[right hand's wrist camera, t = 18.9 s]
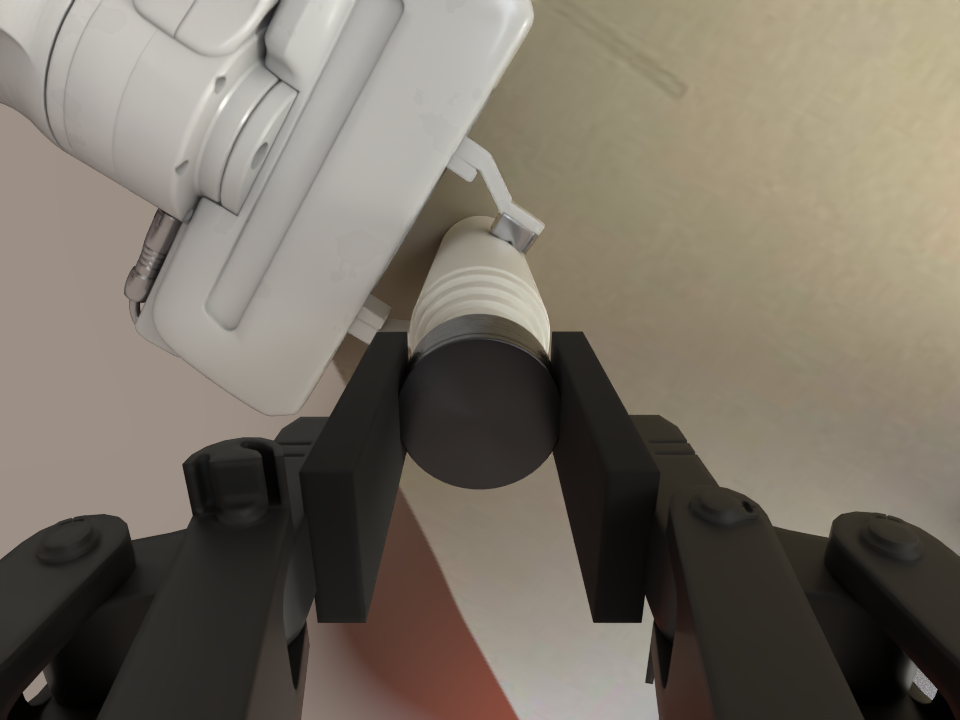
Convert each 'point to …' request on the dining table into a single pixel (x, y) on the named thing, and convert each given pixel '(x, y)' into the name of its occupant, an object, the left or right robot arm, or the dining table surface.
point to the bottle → (478, 283)
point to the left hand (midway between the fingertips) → (497, 293)
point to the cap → (479, 402)
